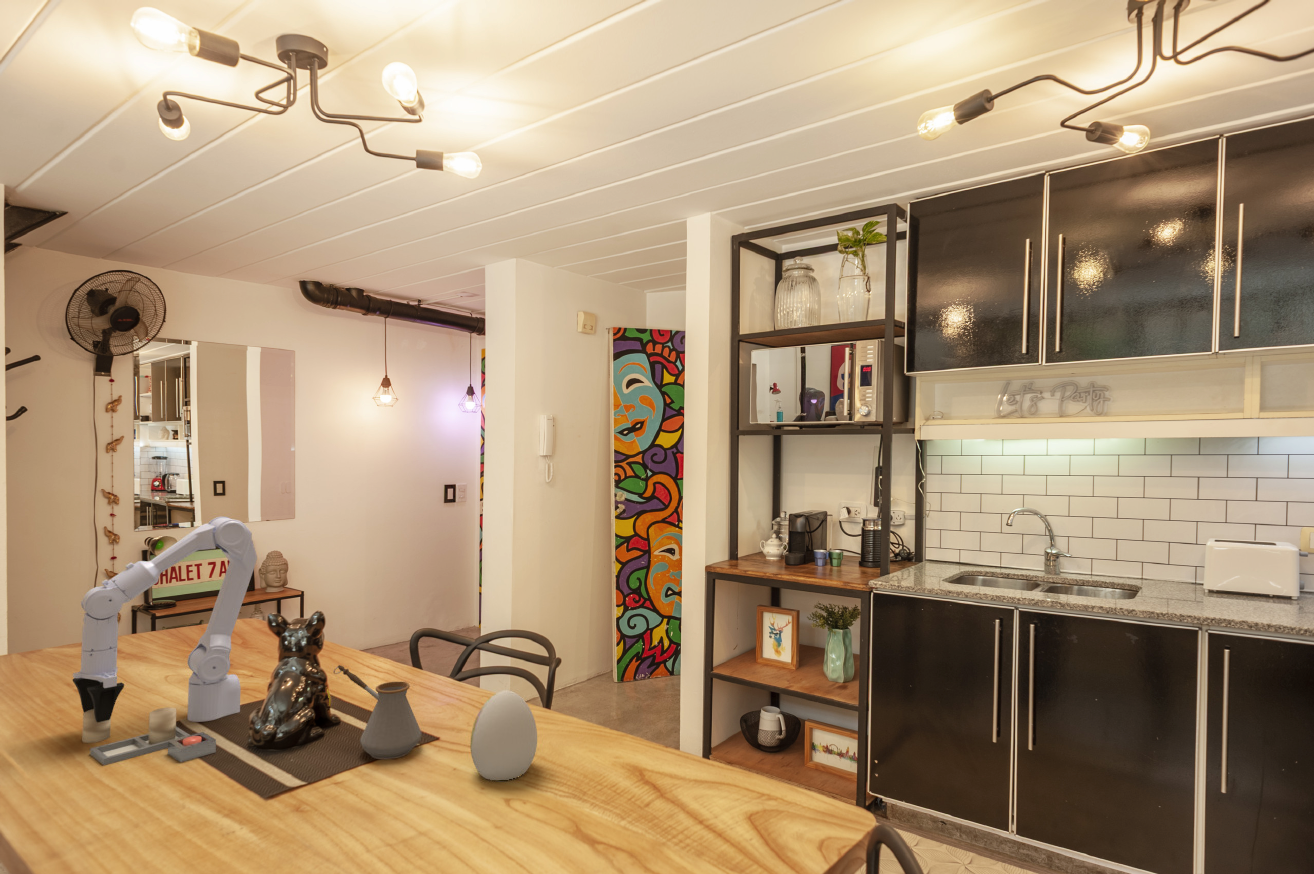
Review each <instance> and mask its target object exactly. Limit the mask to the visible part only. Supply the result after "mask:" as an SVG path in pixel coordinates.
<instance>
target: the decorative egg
mask: <svg viewBox="0 0 1314 874" xmlns="http://www.w3.org/2000/svg"><path fill="white" fill-rule="evenodd" d="M537 747H538V730H537V725H536V721H535V717H534V714H533V712H532V710H531V708H530V706H529V705H528V704H527V702H526V701H525V700H524V698H523V697H522V696H520V695H519V694H518V693H517V692H514V691H511V690H507V689H506V690H501V691H498V692H496V693H494V694H493V695H492V696H490V697H489V698H488V699H487V701H486V702H484V704H483V705H482V706H481V708H480V709H479V711H478V713H477V716H476V717H475V720H474V723H473V726H472V730H471V735H470V754H471V759H472V762H473V765H474V766H475V769H476V770H477V772H478V773H479V774H480V776H482V777H483V778H484V779H487V780H489V779H490V780H489V781H492V780H508V781H510V780H509V779H512V780H514V779H513V778H515V779H517V778H516V777H518V776H520V775H522V774H523V775H525V773H526V772H527V771H528V769H529V768H530V767H531V764H532V762H533V760H534V758H535V756H536V753H537ZM523 775H522V776H523ZM520 777H521V776H520ZM518 778H519V777H518Z"/></svg>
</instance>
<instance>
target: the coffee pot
mask: <svg viewBox="0 0 1314 874" xmlns="http://www.w3.org/2000/svg"><path fill="white" fill-rule="evenodd" d="M337 669H338V670H339V671H338V672H337V673H336V672H335V671H336V670H337ZM341 672H342V673H343V675H344V676H347V677H348V679H349V680H350V681H351V682H353V683H354V684H356V685H357V686H359V688H362V689H363V690H365V691H367V693H369V694H370V695H371V696H372V697H373V698H374V699H375V700H377V701H376V703H375V705H374V707H373V710H372V712H371V713H370V717H369V719H368V720H367V724H366V726H365V728H364V730H363V732H362V735H361V737H360V739H359V742H360V745H361V748H362V749H363V750H364V751H365V752H366V753H367V754H369V755H370V757H372V758H374V759H377V760H393V759H398V758H402V757H404V756H406V755H408V754H409V753H410V752H411V751H412V750H413V749H414V748H415V747H416V746H417V745H418V743H419V742H420V740H421V738H422V730H421V728H420V726H419V723H418V722H417V718H416V716H415V714H414V712H413V710H412V707H411V705H410V702H409V700H408V697H407V693H408V690H409V689H410V687H411V685H410V684H409V682H406V681H390V682H384V683H380V684H378V685H376V687H375V691H374V690H373V689H372V688H370V687H369V686H368V685H367V684H366V683H365V682H364V681H363V680H362V679H361V678H360V677H359V676H357V675H356V674H355V673H352V672H351V671H349V669H348V668H345V666H343V665H341V664H338V665H337V667H336V668H334V670H333V674H335V675H338V674H340V673H341Z"/></svg>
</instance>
